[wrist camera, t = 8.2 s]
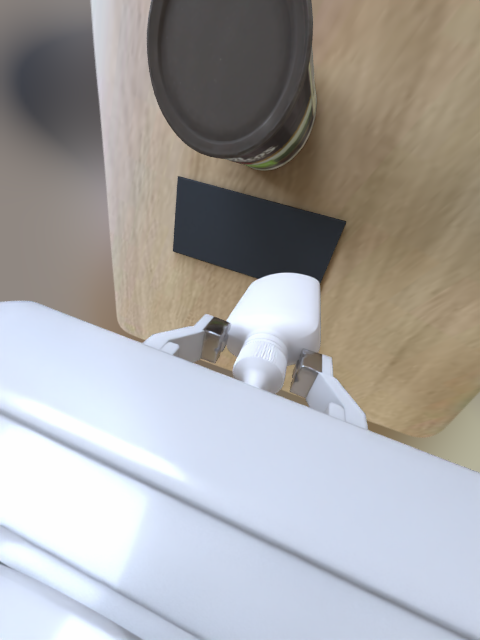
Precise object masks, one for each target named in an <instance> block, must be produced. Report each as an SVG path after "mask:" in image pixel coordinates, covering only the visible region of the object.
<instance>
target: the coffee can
mask: <svg viewBox="0 0 480 640" xmlns="http://www.w3.org/2000/svg"><path fill="white" fill-rule="evenodd" d="M312 35H313V16H312V3H311V0H151V5H150V11H149V18H148V28H147V54H148V65H149V72H150V77H151V82H152V86H153V90H154V94H155V97H156V99H157V102H158V105H159V107H160V109H161V111H162V114H163V115H164V117H165V119H166V120H167V122H168V124H169V125H170V127H171V128H172V129H173V131H174V132H175V133H176V134H177V136H178V137H179V138H180V139H181V140H182V141H183V142H184V143H185V144H187V145H188V146H189V147H191V148H192V149H194V150H195V151H197V152H199V153H201V154H204V155H207V156H210V157H215V158H221V159H227V160H230V161H233V162H237V163H240V164H243V165H246V166H248V167H251V168H253V169H257V170H272V169H276V168H278V167H281V166H283V165H284V164H286V163H288V162H289V161H290V160H292V159H293V158H294V157H295V156H296V155H297V154H298V153H299V151H300V150H301V149H302V148H303V146H304V144H305V143H306V141H307V139H308V137H309V135H310V133H311V130H312V127H313V124H314V120H315V115H316V103H317V100H316V89H315V83H314V66H313V53H312Z"/></svg>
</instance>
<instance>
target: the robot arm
mask: <svg viewBox="0 0 480 640" xmlns="http://www.w3.org/2000/svg"><path fill="white" fill-rule="evenodd" d="M230 327H231V323H230V322H227V321H224V320H222V319H219V318H216V317H214V316H211V315H208V314H205V315H204V316H203V317H202V318H201V319H200V320H199V321H198V322H197V323H196V324H195V325H194V326H193V327H192V326H189V327H184V328H180V329H175V330H171V331H166V332H162V333H157V334H153V335H152V336H150V337H149V338H148V339H147V340H146V341H145V342H143V343H140V342H137V341H135V340H132V339H129V338H127V337H124V336H122V335H119V334H116V333H114V332H111V331H109V330H106V329H103V328H101V327H98V326H96V325H93V324H90V323H88V322H85V321H83V320H80V319H77V318H75V317H72V316H69V315H67V314H64V313H61V312H59V311H56V310H54V309H51V308H48V307H46V306H44V305H41V304H39V303H36V302H32V301H6V302H0V640H480V473H479V472H476V471H474V470H471V469H468V468H466V467H463V466H460V465H458V464H455V463H452V462H450V461H447V460H445V459H442V458H439V457H437V456H434V455H432V454H429V453H426V452H424V451H421V450H419V449H416V448H413V447H411V446H408V445H405V444H403V443H401V442H398V441H395V440H393V439H390V438H388V437H385V436H382V435H380V434H377V433H375V432H372V431H369V430H368V426H367V421H366V415H365V413H364V412H363V411H362V410H361V408H360V407H359V406H358V405H357V403H356V402H355V401H354V400H353V399H352V397H351V396H350V395H349V394H348V392H347V391H346V390H345V389H344V387H343V386H342V385H341V384H340V383H339V381H338V380H337V379H336V378H334V377H333V366H332V358H331V357H329V356H326V355H323V354H319V353H316V352H313V351H310V350H307V349H304V348H303V349H302V351H301V353H300V357H299V360H297V362H296V365H295V367H294V370H293V375H292V378H293V380H292V382H291V387H290V392H292V393H294V394H297V395H299V396H301V397H304V398H306V401H307V403H308V405H309V407H310V408H309V407H307V406H304V405H302V404H299V403H296V402H293V401H291V400H288V399H286V398H283V397H280V396H278V395H275V394H273V393H270V392H268V391H265V390H262V389H260V388H257V387H255V386H252V385H249V384H247V383H244V382H242V381H239V380H236V379H234V378H231V377H229V376H226V375H223V374H220V373H218V372H215V371H213V370H210V369H208V368H205V367H202V366H200V365H197V364H195V363H193V362H195V361H198V360H200V358H201V359H204V360H207V361H209V362H212V363H216V361H217V360H218V358H219V357H220V353H221V352H222V351H223V350H224V348H225V346H226V344H227V341H228V337H229V336H228V332H229V330H230Z"/></svg>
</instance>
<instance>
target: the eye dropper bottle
mask: <svg viewBox="0 0 480 640" xmlns="http://www.w3.org/2000/svg"><path fill="white" fill-rule="evenodd" d="M227 322H230V323H231V327H230V330H229V332H228V336H229V337H228V341H227V344H226V345H227V348H228V350H229V351H230V352H231V353H232V354H233V355H235V356H236V357H238V358H237V360H236V362H235V364H234V366H233V376H234V379H236V380H239V381H242V382H244V383H247V384H249V385H252V386H255V387H257V388H260V389H262V390H265V391H268V392H270V393H273V394H275V393H277V392H278V391H279V390H280V389H281V388H282V386H283V384H284V379H285V373H286V368H287V366H289V365H293V364H296V362H297V360H299V357H300V353H301V351H302V349H303V348H304V349H307V350H310V351H313V352H316V353H318V352H319V349H320V342H321V299H320V284H319V281H318V280H316V279H315V278H313V277H310V276H307V275H303V274H298V273H277V274H272V275H268V276H265V277H262V278H260V279H258V280H256V281H254V282H253V283H252V284H251V285H250V286H249V288H248V289H247V291H246V292H245V294H244V295H243V296H242V298H241V299H240V301H239V302H238V304H237V305H236V307H235V308H234V310H233V311H232V313H231V314H230V316H229V318H228V319H227Z"/></svg>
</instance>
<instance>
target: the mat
mask: <svg viewBox="0 0 480 640" xmlns="http://www.w3.org/2000/svg"><path fill="white" fill-rule="evenodd" d="M345 224H346V221H342V220H339V219H335V218H331V217H327V216H324V215H320V214H316V213H313V212H309V211H305V210H302V209H298V208H294V207H290V206H287V205H283V204H279V203H276V202H272V201H268V200H265V199H261V198H257V197H253V196H250V195H246V194H242V193H239V192H235V191H231V190H228V189H224V188H220V187H216V186H213V185H209V184H205V183H202V182H198V181H194V180H191V179H187V178H183V177H179V176H178V183H177V198H176V213H175V228H174V244H173V251H174V252H177V253H180V254H183V255H186V256H189V257H193V258H196V259H199V260H202V261H205V262H208V263H211V264H214V265H217V266H221V267H224V268H227V269H230V270H233V271H236V272H239V273H242V274H245V275H248V276H252V277H255V278H258V279H260V278H262V277H265V276H268V275H272V274H277V273H298V274H303V275H307V276H310V277H313V278H315V279H316V280H318V281H319V284H320V283H321V280H322V278H323V276H324V273H325V271H326V269H327V266H328V264H329V262H330V259H331V257H332V254H333V252H334V250H335V247H336V245H337V243H338V240H339V238H340V236H341V233H342V231H343V229H344V226H345Z"/></svg>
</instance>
